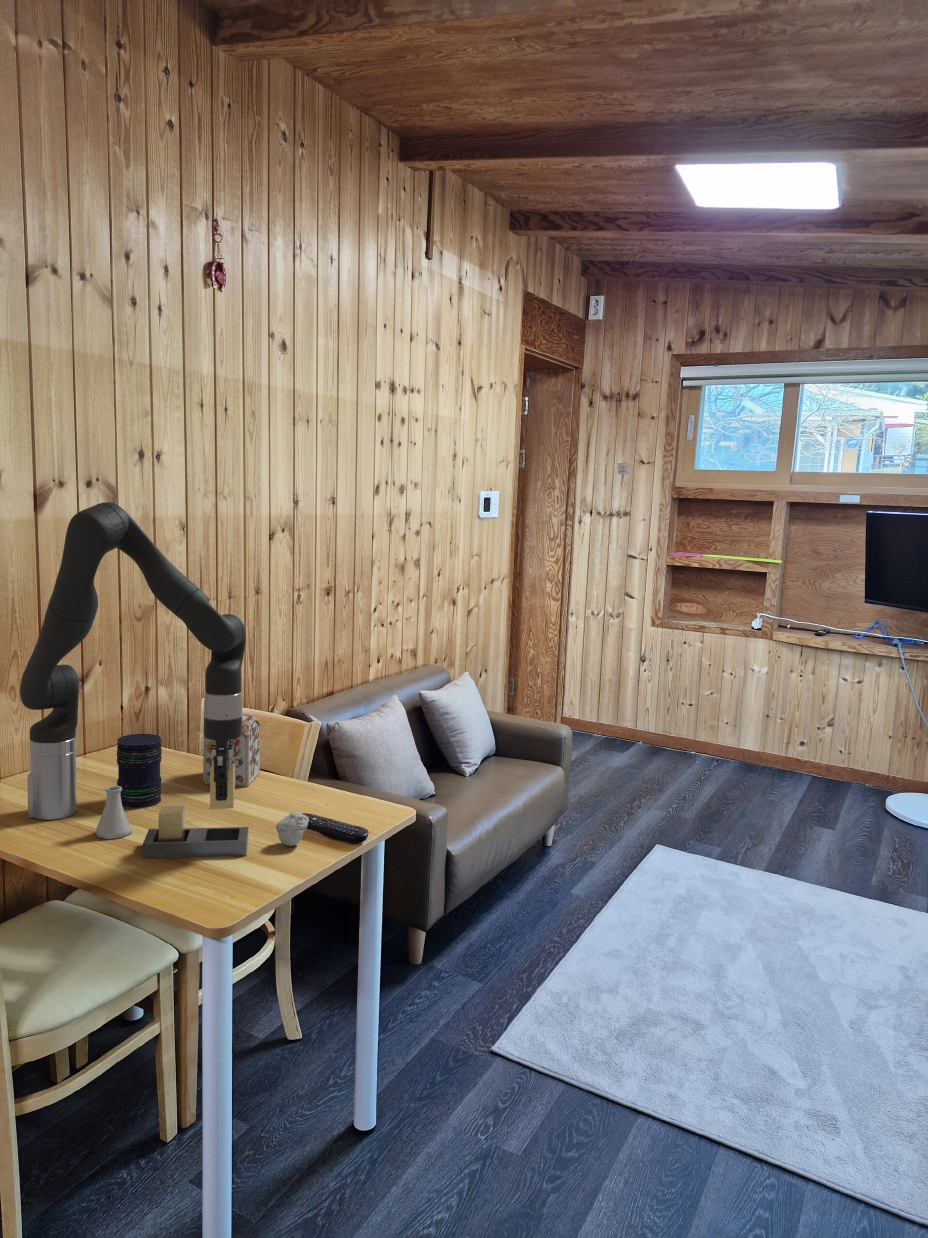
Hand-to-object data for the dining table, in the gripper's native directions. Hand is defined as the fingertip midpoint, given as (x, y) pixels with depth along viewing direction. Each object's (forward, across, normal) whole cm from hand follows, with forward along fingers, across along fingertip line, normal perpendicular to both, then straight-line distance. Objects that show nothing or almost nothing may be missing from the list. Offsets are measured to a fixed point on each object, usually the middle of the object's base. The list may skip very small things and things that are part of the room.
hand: (222, 795), depth 183 cm
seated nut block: (+11, 0, +10) cm, 15 cm away
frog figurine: (+12, +2, -14) cm, 18 cm away
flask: (+12, +10, +23) cm, 28 cm away
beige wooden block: (+2, 0, 0) cm, 2 cm away
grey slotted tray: (+11, 0, +5) cm, 12 cm away
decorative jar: (+11, +46, +1) cm, 48 cm away
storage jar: (+11, +30, +21) cm, 39 cm away
